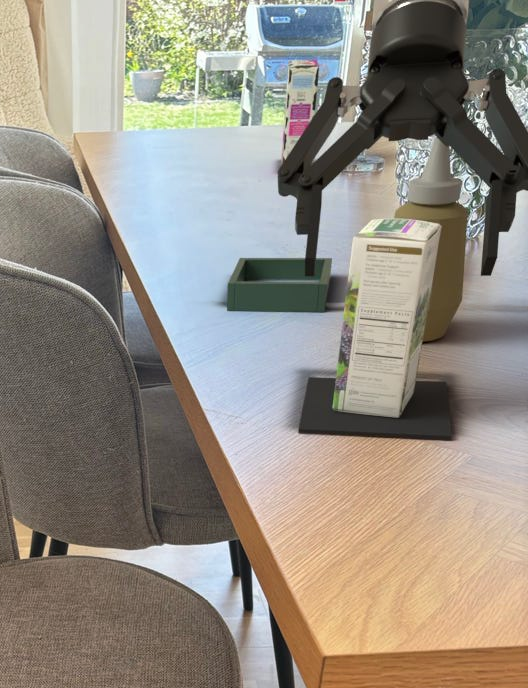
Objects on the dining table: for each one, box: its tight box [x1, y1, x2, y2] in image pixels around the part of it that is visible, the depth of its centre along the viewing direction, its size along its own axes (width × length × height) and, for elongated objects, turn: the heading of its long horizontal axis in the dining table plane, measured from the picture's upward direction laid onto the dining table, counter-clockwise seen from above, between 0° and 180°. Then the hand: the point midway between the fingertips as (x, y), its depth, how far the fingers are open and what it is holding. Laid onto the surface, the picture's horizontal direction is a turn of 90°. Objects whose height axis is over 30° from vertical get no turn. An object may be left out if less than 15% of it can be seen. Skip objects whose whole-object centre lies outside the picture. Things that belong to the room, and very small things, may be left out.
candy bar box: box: [280, 59, 320, 168], centre depth 167 cm, size 11×5×16 cm, turn 169°
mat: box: [297, 376, 453, 441], centre depth 85 cm, size 12×12×1 cm
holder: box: [226, 257, 333, 313], centre depth 112 cm, size 11×11×3 cm
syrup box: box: [332, 218, 442, 418], centre depth 81 cm, size 6×6×14 cm
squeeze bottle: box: [393, 136, 469, 343], centre depth 95 cm, size 8×8×18 cm
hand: (397, 267), depth 79 cm, fingers open, 13 cm apart
